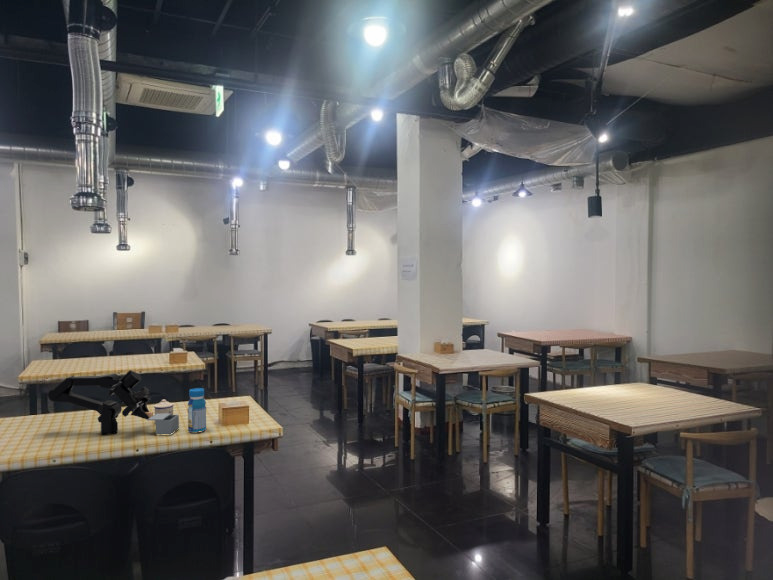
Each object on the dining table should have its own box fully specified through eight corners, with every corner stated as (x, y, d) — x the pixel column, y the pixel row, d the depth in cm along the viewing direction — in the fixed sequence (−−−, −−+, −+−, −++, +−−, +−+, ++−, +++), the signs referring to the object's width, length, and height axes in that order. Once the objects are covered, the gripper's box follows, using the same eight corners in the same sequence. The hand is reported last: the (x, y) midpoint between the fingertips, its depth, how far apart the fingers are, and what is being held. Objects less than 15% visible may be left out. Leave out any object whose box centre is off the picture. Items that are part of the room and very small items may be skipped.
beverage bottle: (200, 434, 243) (199, 391, 243) (184, 433, 245) (183, 391, 244) (209, 429, 251) (209, 387, 251) (194, 428, 253) (193, 387, 253)
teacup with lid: (169, 425, 258) (169, 401, 258) (151, 425, 258) (150, 402, 257) (178, 418, 270) (178, 396, 270) (160, 418, 270) (160, 396, 269)
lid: (138, 420, 241) (138, 415, 241) (148, 414, 251) (147, 409, 251) (162, 420, 241) (162, 415, 241) (171, 414, 251) (171, 409, 251)
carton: (155, 435, 241) (155, 420, 241) (164, 429, 251) (164, 414, 251) (171, 435, 241) (170, 420, 241) (178, 429, 251) (178, 414, 251)
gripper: (128, 387, 236) (153, 411, 236) (146, 379, 254) (169, 401, 255) (111, 404, 236) (136, 428, 236) (130, 395, 254) (153, 417, 255)
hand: (149, 418), depth 246 cm, fingers closed on lid, 2 cm apart
